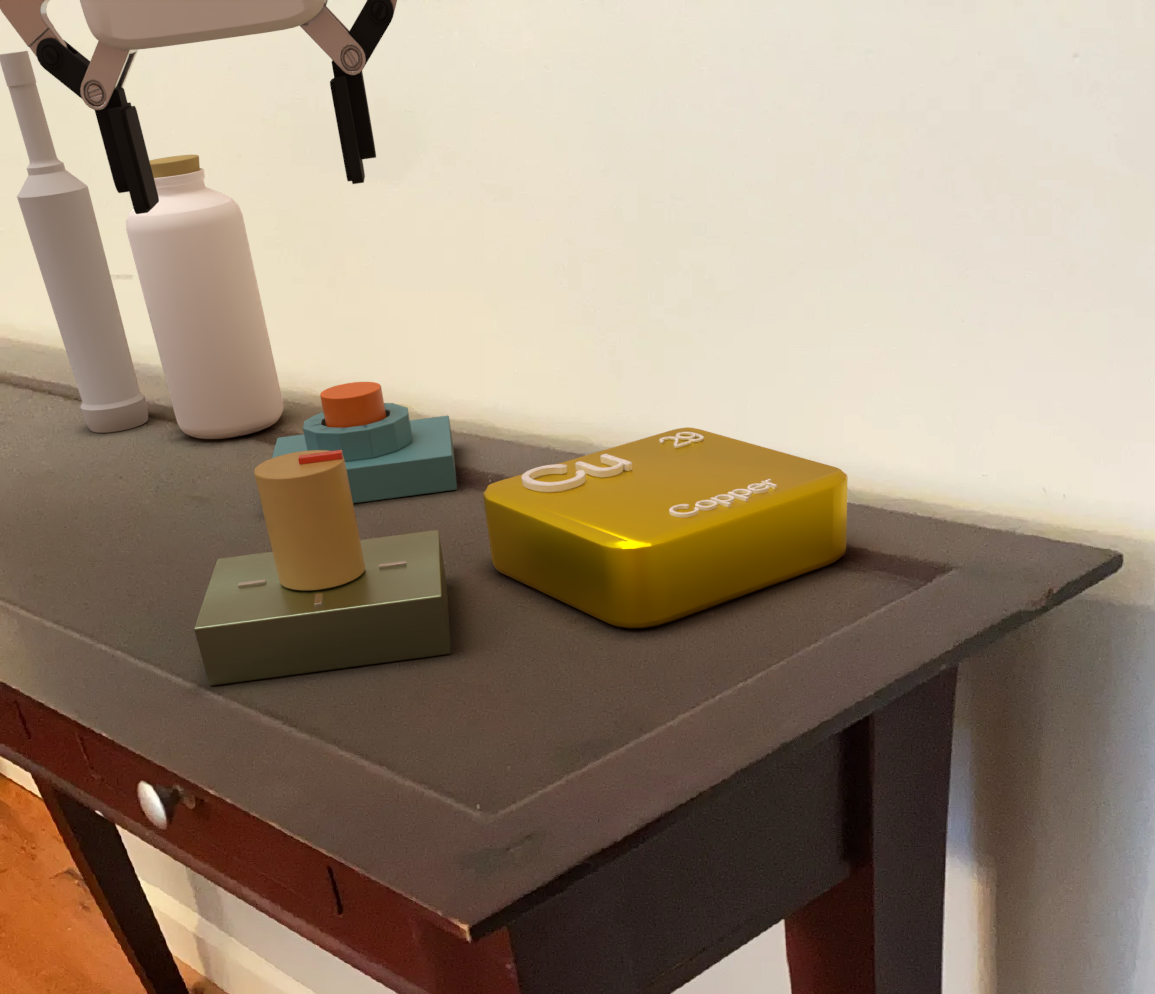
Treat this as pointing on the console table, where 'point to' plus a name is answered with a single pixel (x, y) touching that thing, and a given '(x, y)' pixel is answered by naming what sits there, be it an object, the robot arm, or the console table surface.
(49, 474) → the console table surface
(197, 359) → the potion bottle
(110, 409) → the bottle
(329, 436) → the button base
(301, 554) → the knob
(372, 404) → the button
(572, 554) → the element tile
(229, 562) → the panel
